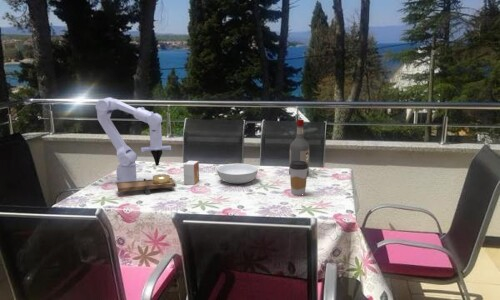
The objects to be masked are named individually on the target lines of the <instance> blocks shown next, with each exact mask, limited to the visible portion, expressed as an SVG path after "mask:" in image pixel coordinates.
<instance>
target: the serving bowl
mask: <svg viewBox="0 0 500 300" xmlns="http://www.w3.org/2000/svg"><path fill="white" fill-rule="evenodd" d="M258 171H259V168H258V167H257V166H255V165H253V164H249V163H237V162H236V163H227V164H222V165H219V166H217V168H216V172H217V175H218V177H219V178H220V180H222V181H224V182H225V183H230V184H235V185H236V184H239V185H240V184H246V183H249V182H251V181H253V180H255V178H256V176H257V175H258Z"/></svg>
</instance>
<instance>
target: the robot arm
mask: <svg viewBox="0 0 500 300" xmlns="http://www.w3.org/2000/svg"><path fill="white" fill-rule="evenodd" d="M95 109H96V116H97V121H98V122H99V124H100V126H101V128H102V129H103V131H104V132H105V134H106V136H107V137H108V138H109V141H110V142H111V144H112V145H113V147H114V148H115V149H116V157H117V158H118V162H119V164H118V165H117V166H116V170H115V171H116V181H115V183H116V184H117V182H128V181H140V179H137V166H136V165H137V164H136V161H137V159H138V155H137V152H135V151H134V150H133V149H132V148H131V147H130V146H129V145H127V144H126V142H125V141H124V139H123V137H122V136H121V134H120V132H119V131H118V129H117V127H116V126H115V124H114V122H113V121H112V119H111V117H112V113H113V111H115V110H119V111H122V112H124V113H128V114H129V115H130V114H131V115H133V117H134V119H137V120H138V121H141V122H144V123H145V124H148V126H149V127H148V128H149V144H150V145H149V146H144V147H141V148H140V151H141V153H147V152H150V153H151V155H152V157H153V159H154V162H155V163H154V165H155V166H159V165H160V159H161V157H162V155H163V151H172V146H171V145H163V139H162V137H163V136H162V133H163V132H162V124H161V123H162V122H163V117H162V115H161V114H160V113H158V112H155V113H154V111H150V110H147V109H145V107H143V106H141V107H137V108H136V107H133V106H132V105H129V104H127V103H125V102H123V101H120V100H119V99H117V98H114V97H110V96H109V97H105V98H101V99H98V100H97V102H96V104H95Z"/></svg>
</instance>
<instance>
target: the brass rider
mask: <svg viewBox="0 0 500 300" xmlns="http://www.w3.org/2000/svg"><path fill="white" fill-rule="evenodd" d="M170 178H171V176H170V174H163V173H160V174H155V175H152V179H153V183H154V184H157V185H158V184H167V183H170Z"/></svg>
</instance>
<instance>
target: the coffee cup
mask: <svg viewBox="0 0 500 300" xmlns="http://www.w3.org/2000/svg"><path fill="white" fill-rule="evenodd" d="M307 168H308V165H307V162H305V161H292V162H291V164H290V174H289V177H290V192H291V195H292V194H294V195H293V196H295V195H302V194H304V195H305V194H306V188H307V179H308V177H307V176H308V175H307ZM302 196H303V195H302Z"/></svg>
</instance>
